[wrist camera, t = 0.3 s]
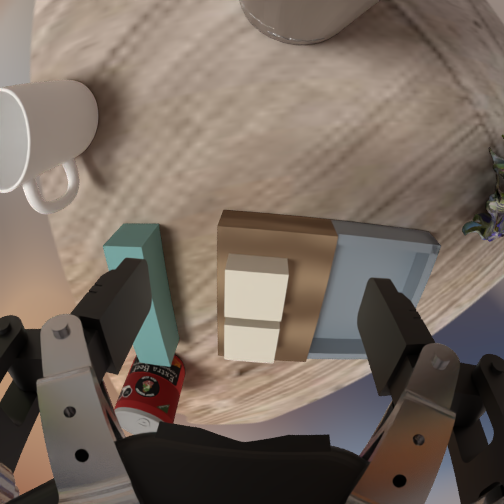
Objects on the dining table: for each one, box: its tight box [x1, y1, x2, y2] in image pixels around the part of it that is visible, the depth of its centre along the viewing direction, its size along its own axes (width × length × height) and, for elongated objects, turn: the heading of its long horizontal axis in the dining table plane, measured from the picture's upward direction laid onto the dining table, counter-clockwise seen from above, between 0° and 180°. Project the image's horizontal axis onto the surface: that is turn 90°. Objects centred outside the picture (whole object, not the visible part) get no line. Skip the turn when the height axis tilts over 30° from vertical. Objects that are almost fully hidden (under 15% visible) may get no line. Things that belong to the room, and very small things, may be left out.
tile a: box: [224, 254, 289, 321], centre depth 26 cm, size 5×5×2 cm
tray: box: [307, 220, 441, 359], centre depth 30 cm, size 16×11×3 cm
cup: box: [0, 80, 98, 214], centre depth 20 cm, size 8×12×10 cm
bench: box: [217, 210, 338, 362], centre depth 30 cm, size 16×10×4 cm, turn 176°
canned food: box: [114, 355, 185, 435], centre depth 35 cm, size 8×8×11 cm
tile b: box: [224, 317, 280, 363], centre depth 29 cm, size 5×5×2 cm
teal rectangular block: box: [103, 224, 179, 367], centre depth 31 cm, size 16×4×5 cm, turn 0°
